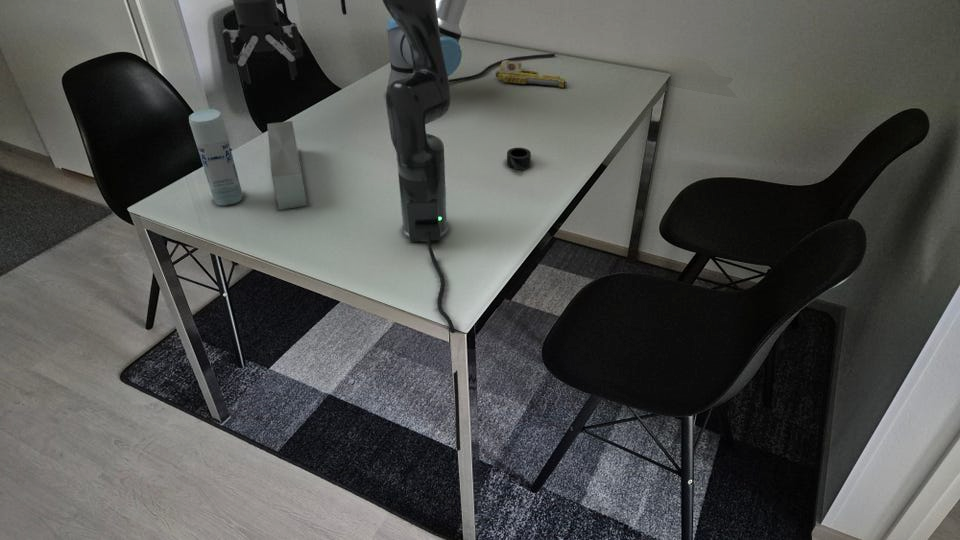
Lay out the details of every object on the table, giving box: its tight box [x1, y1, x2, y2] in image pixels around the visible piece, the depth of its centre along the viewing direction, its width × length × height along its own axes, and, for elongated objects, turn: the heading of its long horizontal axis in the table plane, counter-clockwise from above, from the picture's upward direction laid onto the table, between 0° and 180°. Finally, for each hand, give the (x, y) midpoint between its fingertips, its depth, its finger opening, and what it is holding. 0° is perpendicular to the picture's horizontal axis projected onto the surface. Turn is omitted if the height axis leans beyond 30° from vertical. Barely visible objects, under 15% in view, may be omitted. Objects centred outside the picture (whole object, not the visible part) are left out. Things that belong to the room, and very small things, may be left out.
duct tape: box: [506, 147, 532, 171], centre depth 154 cm, size 8×10×3 cm
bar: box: [266, 120, 308, 211], centre depth 147 cm, size 28×6×8 cm, turn 17°
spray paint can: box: [188, 108, 244, 206], centre depth 136 cm, size 6×6×20 cm
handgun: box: [494, 59, 567, 89], centre depth 199 cm, size 2×23×15 cm
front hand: (270, 80), depth 126 cm, fingers open, 8 cm apart
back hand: (315, 15), depth 149 cm, fingers open, 13 cm apart
